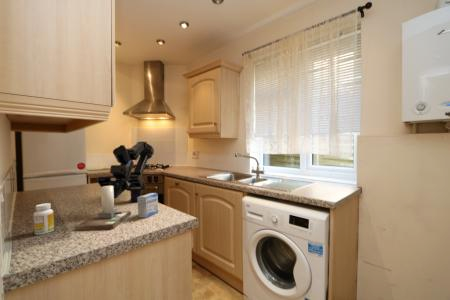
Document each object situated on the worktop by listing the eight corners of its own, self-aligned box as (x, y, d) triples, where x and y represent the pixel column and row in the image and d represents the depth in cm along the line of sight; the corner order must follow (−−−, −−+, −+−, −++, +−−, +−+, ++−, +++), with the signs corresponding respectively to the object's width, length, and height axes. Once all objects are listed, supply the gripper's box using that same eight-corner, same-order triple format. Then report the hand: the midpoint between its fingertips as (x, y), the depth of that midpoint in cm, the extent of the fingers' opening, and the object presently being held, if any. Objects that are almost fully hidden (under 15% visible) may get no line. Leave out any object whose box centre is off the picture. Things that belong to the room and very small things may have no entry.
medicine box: (146, 218, 88) (145, 197, 87) (137, 217, 89) (137, 196, 89) (158, 212, 95) (157, 193, 95) (150, 211, 96) (149, 192, 96)
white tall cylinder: (105, 214, 89) (104, 185, 88) (124, 213, 89) (123, 185, 89) (98, 218, 84) (97, 188, 83) (118, 217, 84) (117, 187, 84)
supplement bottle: (52, 227, 80) (50, 201, 79) (55, 231, 76) (54, 204, 76) (32, 232, 75) (31, 205, 75) (36, 236, 72) (34, 207, 72)
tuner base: (100, 215, 92) (100, 211, 92) (130, 214, 93) (130, 210, 93) (75, 230, 76) (75, 225, 76) (112, 229, 77) (112, 224, 77)
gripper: (98, 158, 97) (84, 187, 86) (139, 157, 97) (131, 186, 87) (107, 173, 105) (95, 202, 94) (146, 172, 106) (138, 200, 95)
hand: (114, 197), depth 92 cm, fingers closed
